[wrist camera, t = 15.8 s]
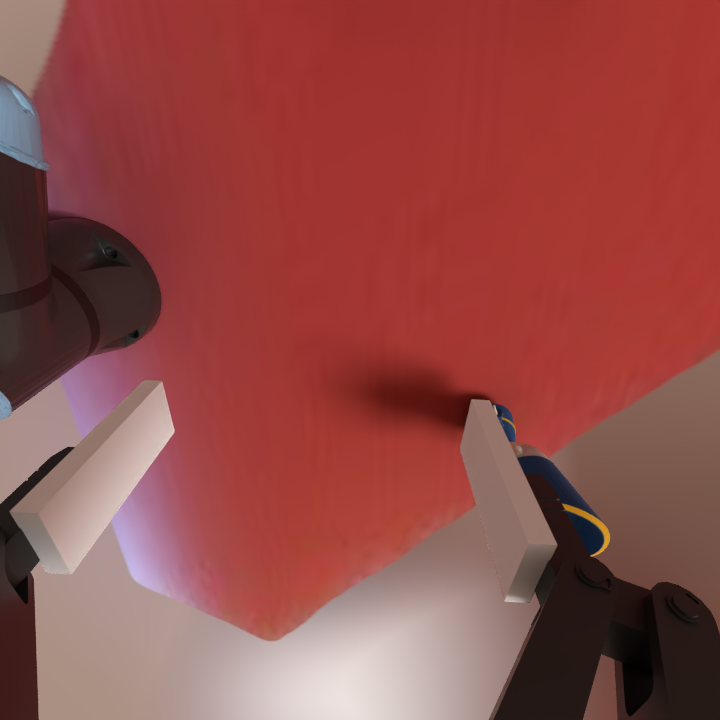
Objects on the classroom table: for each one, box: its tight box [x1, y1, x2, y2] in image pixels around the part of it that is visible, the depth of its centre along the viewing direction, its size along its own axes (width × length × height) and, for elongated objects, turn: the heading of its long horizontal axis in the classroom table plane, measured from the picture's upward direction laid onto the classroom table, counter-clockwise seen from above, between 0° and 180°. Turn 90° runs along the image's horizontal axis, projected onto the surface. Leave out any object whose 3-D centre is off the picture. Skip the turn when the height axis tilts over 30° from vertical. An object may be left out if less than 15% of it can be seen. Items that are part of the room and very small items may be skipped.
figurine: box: [465, 404, 610, 557], centre depth 42 cm, size 13×9×20 cm
